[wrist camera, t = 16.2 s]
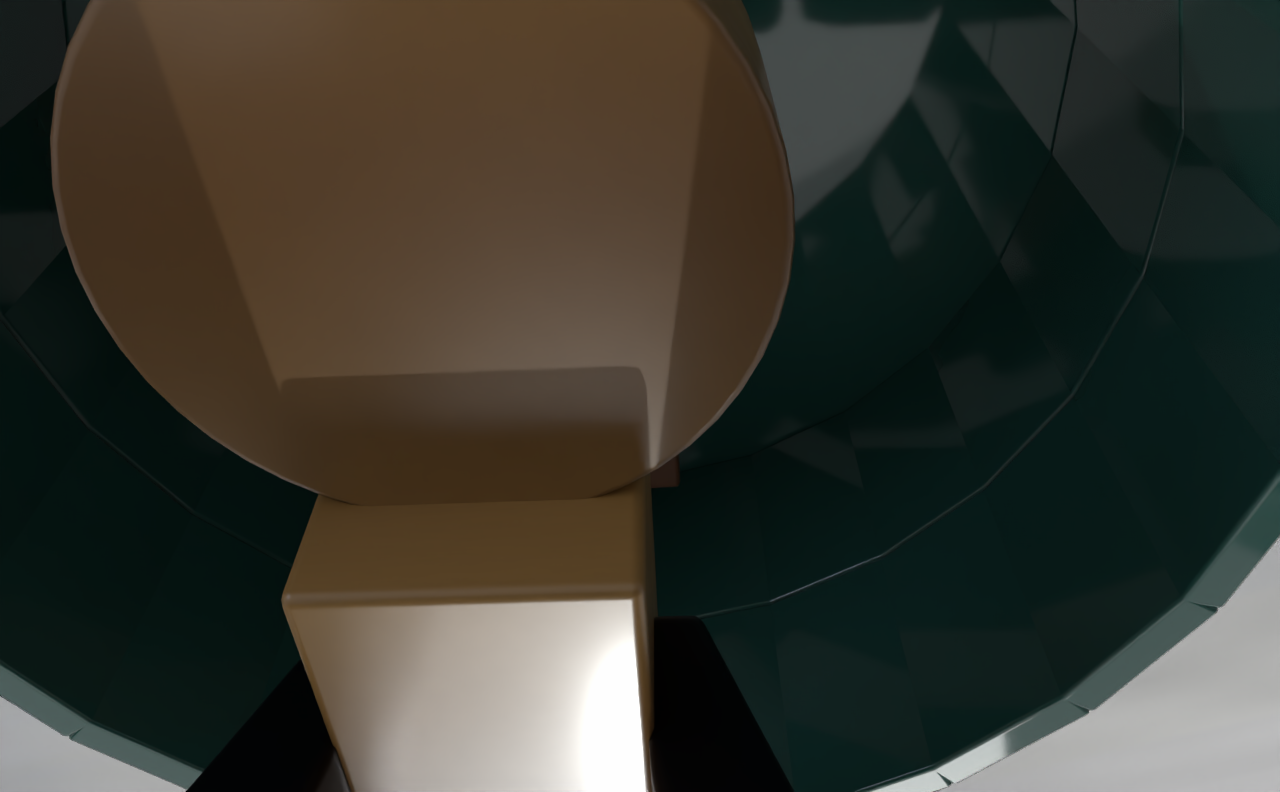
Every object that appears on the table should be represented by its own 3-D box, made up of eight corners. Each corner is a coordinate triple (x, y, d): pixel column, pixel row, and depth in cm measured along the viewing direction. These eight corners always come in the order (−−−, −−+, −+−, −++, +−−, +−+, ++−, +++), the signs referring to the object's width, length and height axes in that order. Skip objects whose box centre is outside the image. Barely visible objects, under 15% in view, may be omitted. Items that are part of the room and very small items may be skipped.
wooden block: (749, 800, 12) (771, 1034, 10) (389, 807, 12) (340, 1043, 10) (778, -221, 6) (846, -130, 4) (61, -181, 6) (-218, -81, 4)
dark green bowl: (1002, 463, 20) (1161, 848, 14) (217, 488, 20) (35, 872, 14) (1236, -633, 11) (1984, -920, 5) (-175, -547, 11) (-1125, -715, 5)
